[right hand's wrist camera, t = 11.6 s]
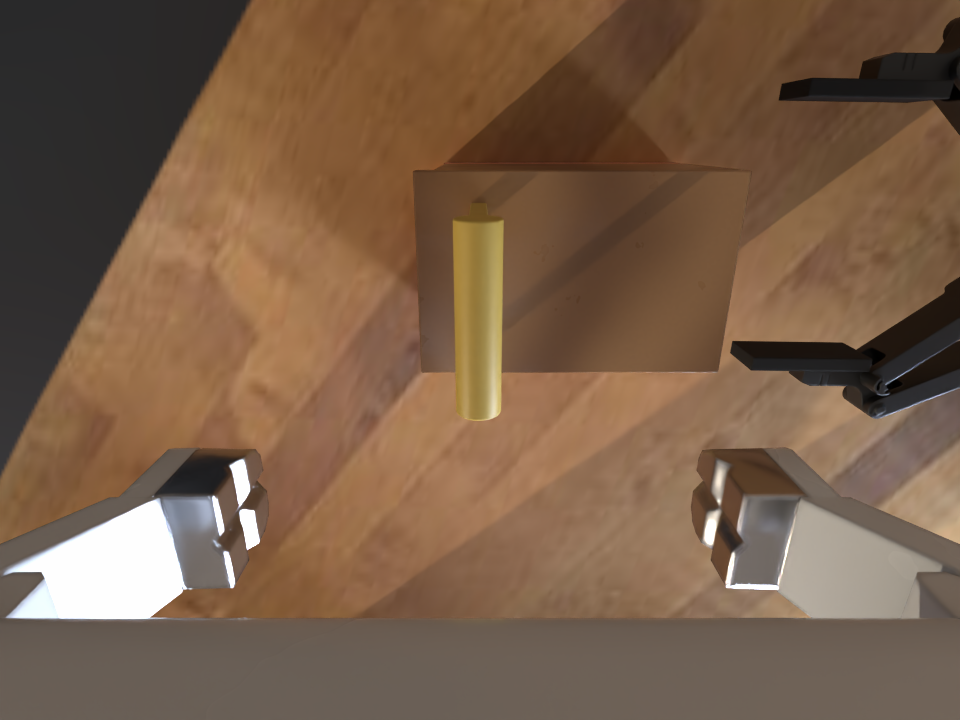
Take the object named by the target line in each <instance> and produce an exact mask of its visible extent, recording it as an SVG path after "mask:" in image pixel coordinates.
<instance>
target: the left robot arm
mask: <svg viewBox="0 0 960 720" xmlns="http://www.w3.org/2000/svg"><path fill="white" fill-rule="evenodd" d="M943 39H944V42H943V44H942V46H941V47H940V48H939V50H938V51H937V52H936V53H891V54H886V55H882V56H877V57H873V58H871V59H868V60H866V61H863V63H862V68H861V72H860V76H859V79H849V78H809V79H804V80H799V81H794V82H789V83H784V84H782V86H781V91H780V96H779V100H780V101H841V102H901V103H908V102H918V101H929V100H933V101H934V103H935V104H936V105H937V106H938V108H939V109H940V110H941V112H942V113H943V114H944V116H945V117H946V118H947V119H948V121H949V122H950V123H951V125H952V126H953V127H954V129H955V130H956V131H957V133H958V134H959V135H960V17H959V18H956V19H954V20H952V21H950V22H949V23H948V25H947V26H946V28H945V30H944V33H943ZM958 340H959V341H958ZM956 341H957V342H956ZM730 353H731V354H732V355H733V356H734V357H736V358H737V359H738V360H739V361H740V362H742V363H743V364H744V365H745V366H746V367H748V368H749V369H750V370H763V371H789V373H790V374H791V375H793V376H794V377H795V378H797V379H798V380H799V381H801V382H802V383H805V384H807V385H809V386H819V385H820V386H826V385H827V386H846V387H845V388H844V390H843V397H844V399H846V400H847V401H849V402H850V403H851V404H853V405H854V406H856V407H857V408H859V409H860V410H862V411H863V412H864V413H866V414H867V415H869V416H870V417H872V418H875V419H878V418H882V417H885V416H887V415H890V414H892V413H895V412H898V411H900V410H903V409H906V408H908V407H911V406H913V405H916V404H919V403H921V402H924V401H927V400H929V399H932V398H934V397H937V396H940V395H942V394H945V393H948V392H950V391H953V390H955V389H958V388H960V277H959V278H957V279H956V280H954V281H953V282H951V283H949V284H948V285H947V286H946V287H945V293H944V294H943V295H941V296H939V297H938V298H936V299H935V300H933V301H932V302H930V303H929V304H927V305H925V306H924V307H922V308H921V309H919V310H918V311H916V312H914V313H913V314H911V315H910V316H908V317H907V318H905V319H904V320H902V321H900V322H899V323H897V324H896V325H894V326H893V327H891V328H890V329H888V330H886V331H885V332H883V333H882V334H880V335H879V336H877V337H875V338H874V339H872V340H871V341H869V342H868V343H866V344H865V345H863V346H861V347H860V348H858V349H857V350H855V349H853V348H851V347H850V346H848V345H846V344H844V343H836V342H763V341H732V346H731V352H730Z"/></svg>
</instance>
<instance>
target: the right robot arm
mask: <svg viewBox="0 0 960 720" xmlns="http://www.w3.org/2000/svg"><path fill="white" fill-rule="evenodd" d="M262 472H263V466H262V461H261V456H260V454H259V453H258V452H257V450H256V449H221V448H202V449H201V448H174V449H168V450H167V451H166V452H165V453H164V454H163V455H162V456H161V457H160V458H159V459H158V460H157V461H156V462H155V463H154V464H153V465H152V466H151V467H150V468H149V469H148V470H147V471H146V472H145V473H144V474H142V475H141V476H140V477H139V478H138V479H137V480H136V481H135V482H134V483H133V484H132V485H131V486H130V487H129V488H128V489H127V490H126V491H125V492H124V493H123V494H122V495H121V496H120V497H115V498H107V499H105V500H103V501H100V502H98V503H96V504H93V505H91V506H88V507H86V508H84V509H81V510H79V511H77V512H74V513H72V514H70V515H67V516H65V517H63V518H60V519H58V520H56V521H53V522H51V523H49V524H46V525H44V526H42V527H39V528H37V529H35V530H32V531H30V532H28V533H25V534H23V535H21V536H18V537H16V538H14V539H11V540H9V541H7V542H4V543H2V544H0V720H960V544H958V543H956V542H953V541H951V540H949V539H946V538H944V537H942V536H939V535H937V534H934V533H932V532H930V531H927V530H925V529H923V528H920V527H918V526H916V525H913V524H911V523H909V522H906V521H904V520H902V519H899V518H897V517H895V516H892V515H890V514H888V513H885V512H883V511H881V510H878V509H876V508H874V507H871V506H869V505H867V504H864V503H862V502H860V501H857V500H855V499H853V498H845V497H840V496H839V495H838V494H837V493H836V492H835V491H834V490H833V489H832V488H831V487H830V486H829V485H828V484H827V483H826V482H825V481H824V480H823V479H822V478H821V477H820V476H819V475H818V474H817V473H816V472H815V471H814V470H812V469H811V468H810V467H809V466H808V465H807V464H806V463H805V462H804V461H803V460H802V459H801V458H800V457H799V456H798V455H797V454H796V453H795V452H794V451H793V450H791V449H788V448H785V447H784V448H753V449H712V450H702V452H701V454H700V457H699V459H698V465H697V472H698V473H699V475H700V476H701V478H702V479H703V481H702V482H701V483H700V484H699V486H698V487H697V488H696V489H695V490H694V491H693V496H692V504H691V511H692V522H693V525H694V528H695V532H696V534H697V536H698V538H699V540H700V541H701V543H703V544H704V545H706V546H707V547H709V548H711V549H712V556H711V561H712V563H713V565H714V567H715V568H716V570H717V572H718V574H719V575H720V577H721V579H722V581H723V582H724V584H725V586H726V588H749V589H778V590H777V592H779V593H780V594H781V595H782V596H784V597H785V598H786V599H788V600H789V601H790V602H792V603H793V604H794V605H795V606H797V607H798V608H799V609H801V610H802V611H803V612H805V613H806V614H807V615H808V616H810V617H811V618H149V617H150V616H152V615H153V614H154V613H156V612H157V611H158V610H159V609H161V608H162V607H163V606H165V605H166V604H167V603H169V602H170V601H171V600H173V599H174V598H175V597H176V596H178V595H179V594H180V593H182V589H210V588H234V586H235V584H236V583H237V581H238V579H239V577H240V575H241V574H242V572H243V570H244V568H245V567H246V565H247V563H248V561H249V556H248V549H249V548H251V547H253V546H254V545H256V544H257V543H259V541H260V540H261V538H262V536H263V534H264V532H265V529H266V524H267V520H268V516H269V502H268V495H267V491H266V490H265V489H264V488H263V487H262V486H261V485H260V483H259V482H258V481H257V479H258V478H259V476H260V475H261V473H262Z"/></svg>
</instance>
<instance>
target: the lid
mask: <svg viewBox="0 0 960 720" xmlns="http://www.w3.org/2000/svg"><path fill="white" fill-rule="evenodd" d="M751 173H752V171H750V170H415V171H413V186H414V209H415V233H416V256H417V280H418V304H419V327H420V351H421V372H422V373H456V411H457V413H458V415H459V416H461V417H463V418H465V419H468V420H475V421H482V420H489V419H492V418H494V417H496V416H498V415H499V413H500V411H501V373H717V372H718V368H719V363H720V357H721V351H722V345H723V339H724V333H725V327H726V321H727V315H728V309H729V303H730V298H731V292H732V286H733V280H734V274H735V268H736V262H737V256H738V250H739V244H740V238H741V233H742V227H743V221H744V215H745V209H746V203H747V197H748V191H749V185H750V179H751Z"/></svg>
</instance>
